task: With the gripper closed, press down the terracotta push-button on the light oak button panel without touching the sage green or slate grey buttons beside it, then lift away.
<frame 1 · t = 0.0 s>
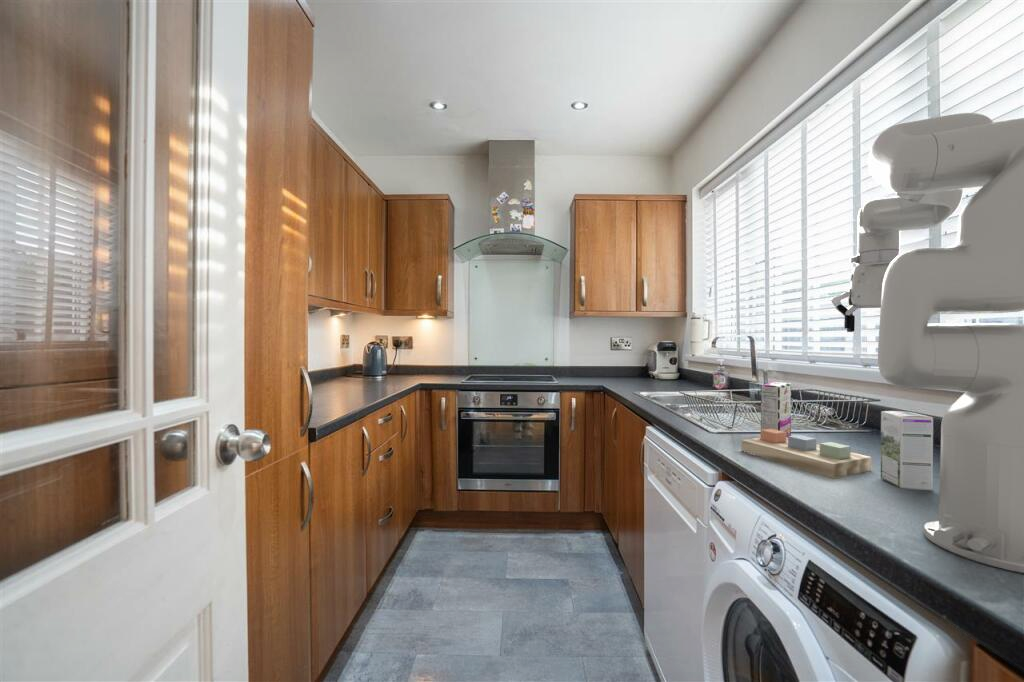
hand: (876, 331, 95), 31 cm above the counter, tool pointing down, fingers open, 9 cm apart
sage green button: (834, 451, 89), point 4 cm above the counter, slide at 0.0 cm
terracotta button: (773, 436, 102), point 4 cm above the counter, slide at 0.0 cm
syrup box: (905, 485, 80), on the counter
slate grey button: (802, 443, 96), point 4 cm above the counter, slide at 0.0 cm
candy bar box: (775, 440, 115), on the counter
button panel: (801, 460, 96), on the counter
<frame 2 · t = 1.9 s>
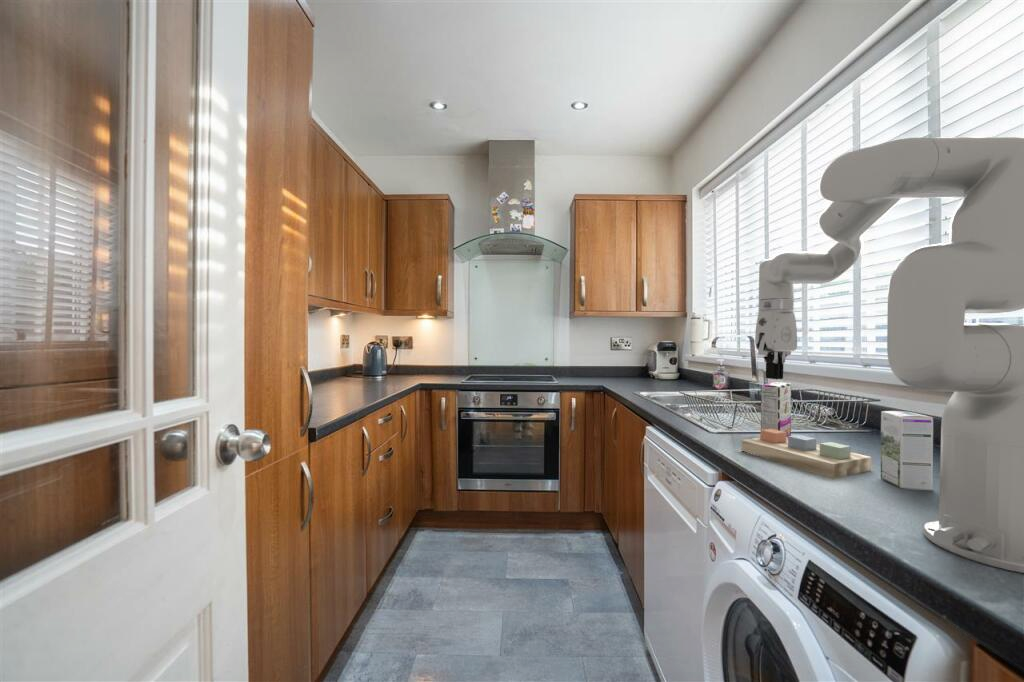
hand: (774, 378, 102), 19 cm above the counter, tool pointing down, fingers closed
nothing on the counter moved.
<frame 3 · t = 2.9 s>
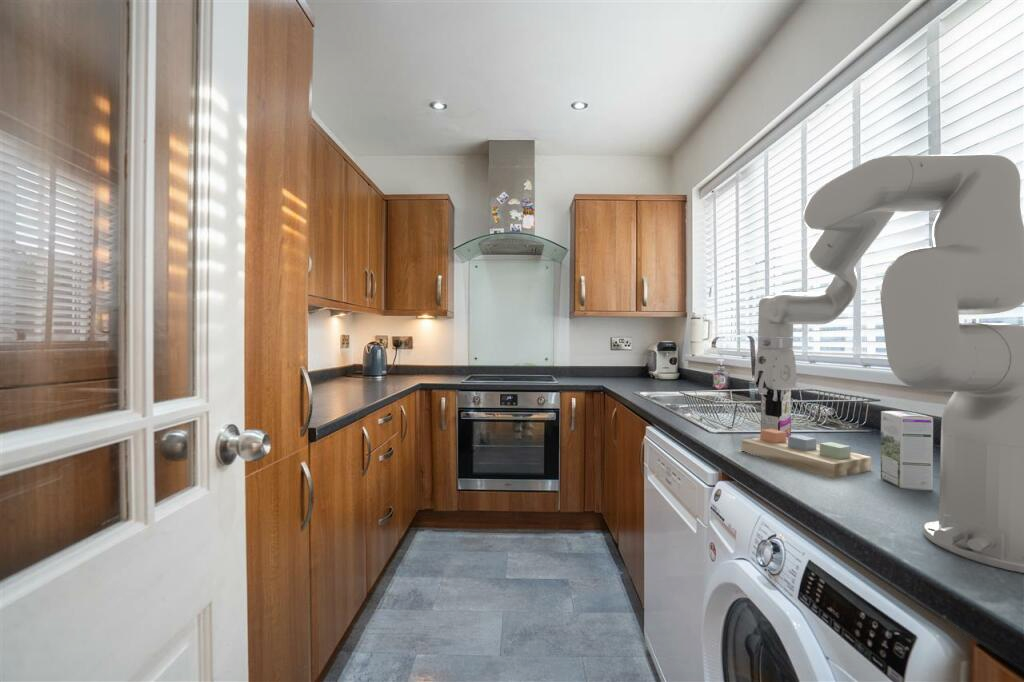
hand: (773, 415, 102), 9 cm above the counter, tool pointing down, fingers closed
nothing on the counter moved.
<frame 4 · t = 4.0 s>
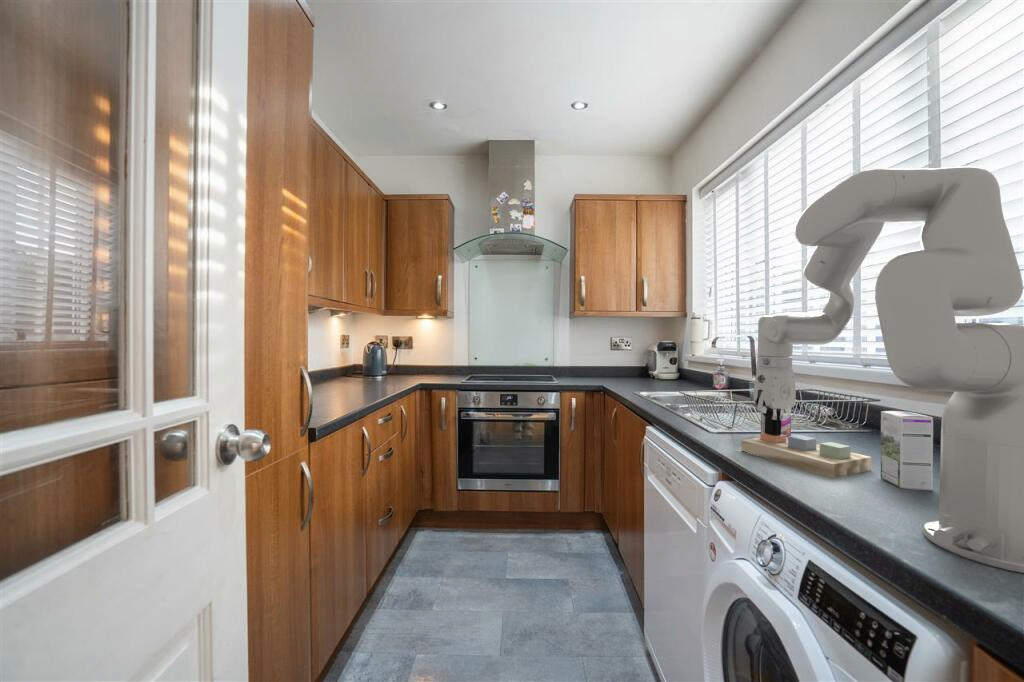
hand: (772, 434, 103), 5 cm above the counter, tool pointing down, fingers closed
terracotta button: (773, 440, 102), point 3 cm above the counter, slide at 0.9 cm, touching gripper
everything else where it was.
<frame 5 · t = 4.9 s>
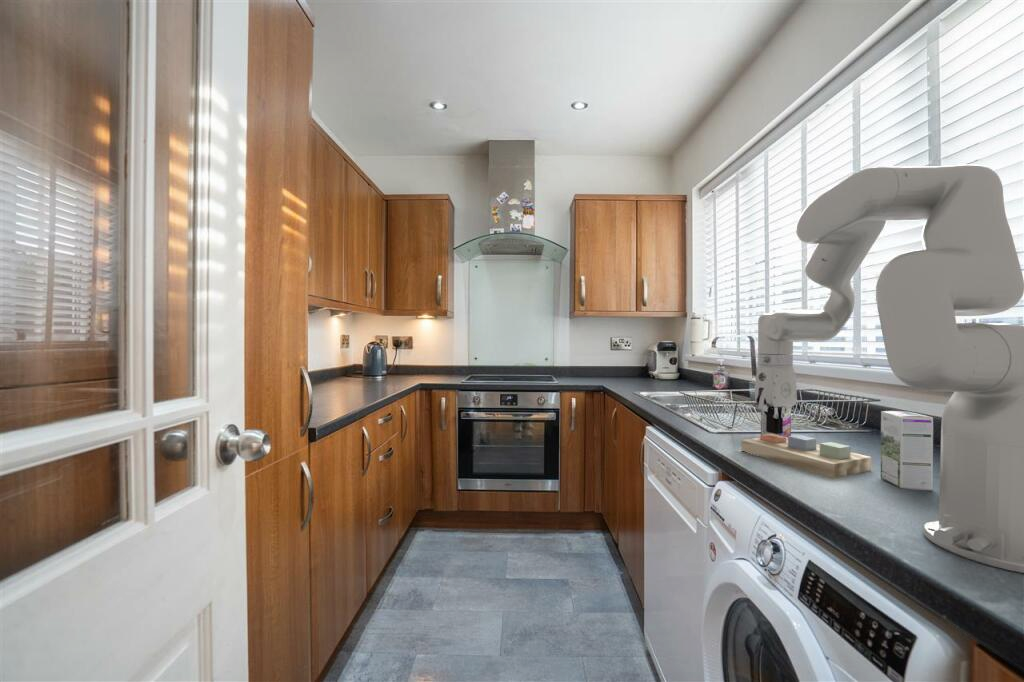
hand: (774, 432, 102), 5 cm above the counter, tool pointing down, fingers closed
terracotta button: (773, 441, 102), point 3 cm above the counter, slide at 1.3 cm
everything else where it was.
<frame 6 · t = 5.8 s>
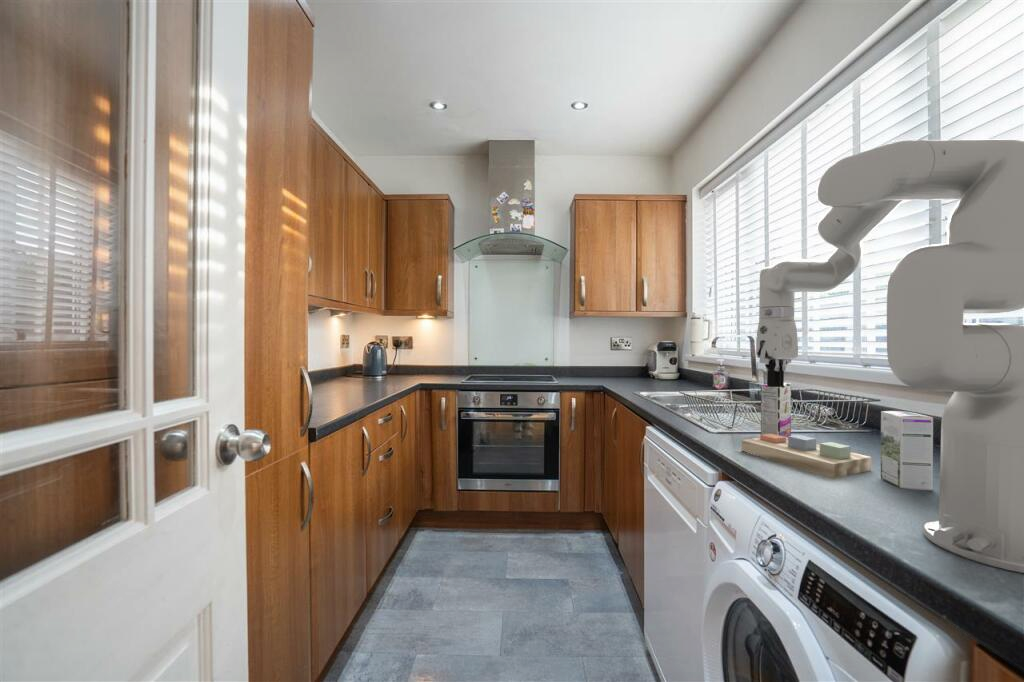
hand: (775, 386, 102), 17 cm above the counter, tool pointing down, fingers closed
nothing on the counter moved.
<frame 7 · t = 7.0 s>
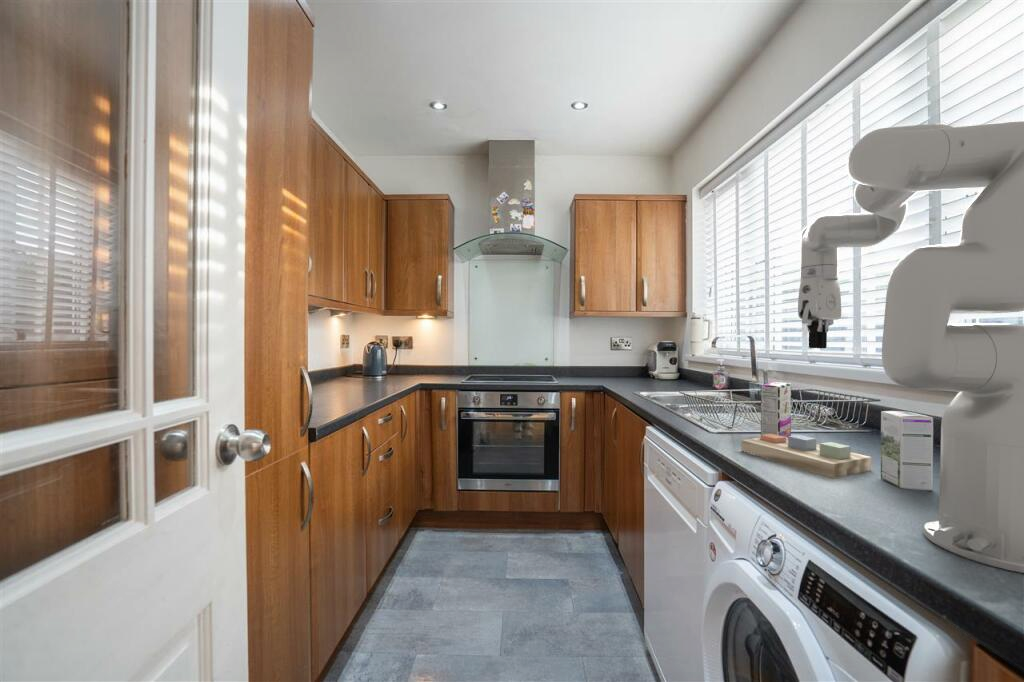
hand: (817, 348, 99), 27 cm above the counter, tool pointing down, fingers closed
nothing on the counter moved.
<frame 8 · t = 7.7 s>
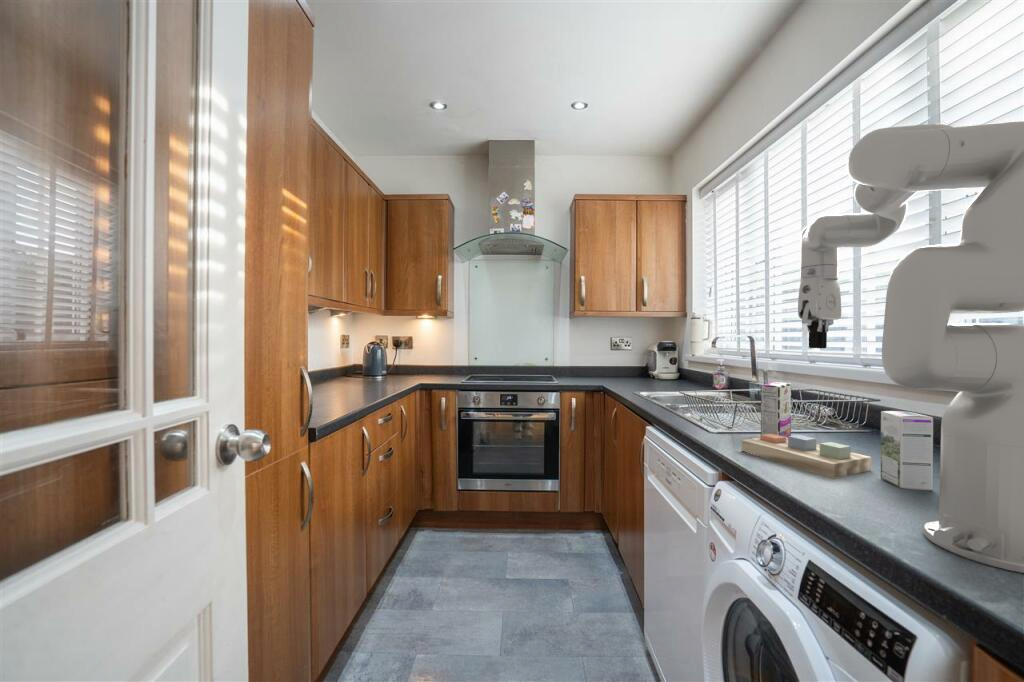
hand: (817, 348, 99), 27 cm above the counter, tool pointing down, fingers closed
nothing on the counter moved.
at the end: terracotta button slide at 1.3 cm; sage green button slide at 0.0 cm; slate grey button slide at 0.0 cm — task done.
